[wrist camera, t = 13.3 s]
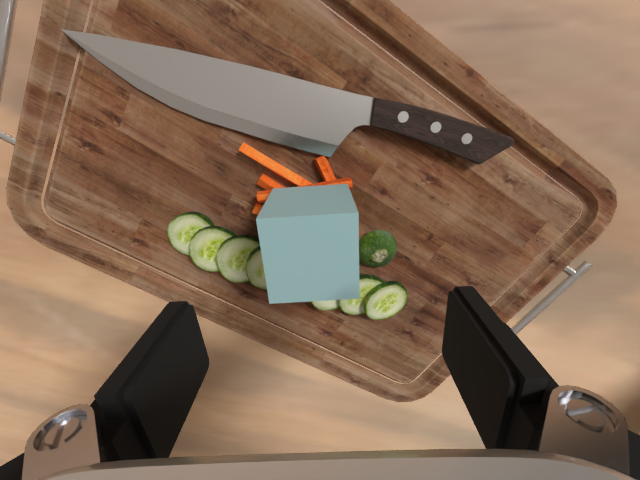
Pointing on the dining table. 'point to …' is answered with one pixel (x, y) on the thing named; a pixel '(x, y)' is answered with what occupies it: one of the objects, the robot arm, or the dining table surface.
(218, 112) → the chopping board
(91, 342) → the dining table surface
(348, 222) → the teal block
